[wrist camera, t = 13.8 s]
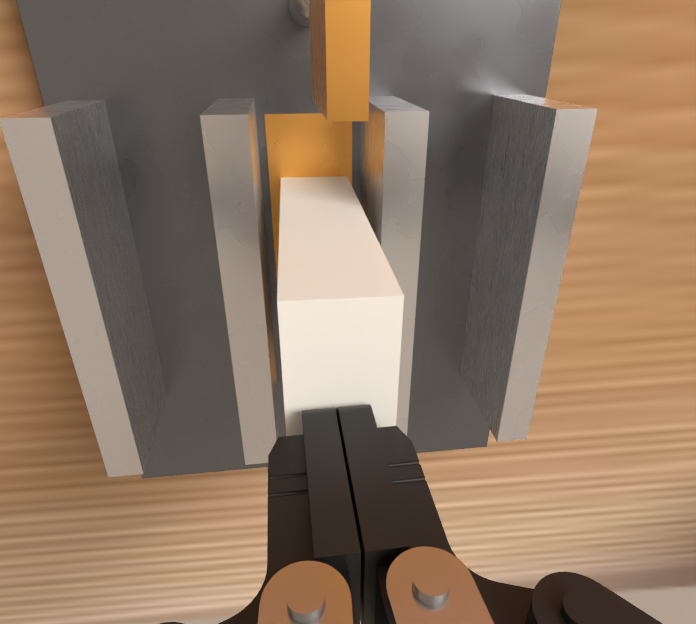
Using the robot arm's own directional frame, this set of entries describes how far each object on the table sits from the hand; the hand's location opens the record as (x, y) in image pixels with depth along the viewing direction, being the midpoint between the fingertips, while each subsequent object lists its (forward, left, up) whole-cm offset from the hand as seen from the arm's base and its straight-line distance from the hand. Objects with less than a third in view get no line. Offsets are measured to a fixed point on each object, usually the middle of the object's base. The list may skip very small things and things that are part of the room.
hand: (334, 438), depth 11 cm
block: (0, 0, -10) cm, 10 cm away
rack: (0, 0, -12) cm, 12 cm away
